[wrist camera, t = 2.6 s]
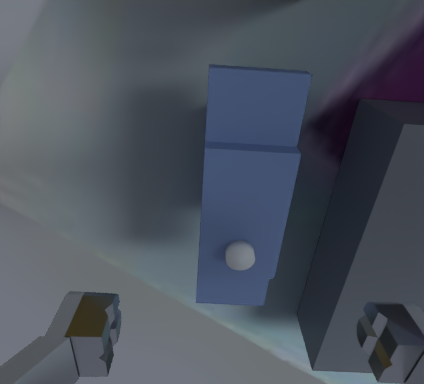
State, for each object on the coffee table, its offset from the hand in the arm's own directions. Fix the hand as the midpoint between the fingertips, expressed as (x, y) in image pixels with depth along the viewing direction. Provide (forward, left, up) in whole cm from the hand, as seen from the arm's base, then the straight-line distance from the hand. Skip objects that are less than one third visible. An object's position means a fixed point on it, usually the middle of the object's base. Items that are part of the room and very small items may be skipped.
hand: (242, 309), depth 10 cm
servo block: (0, 0, -12) cm, 12 cm away
